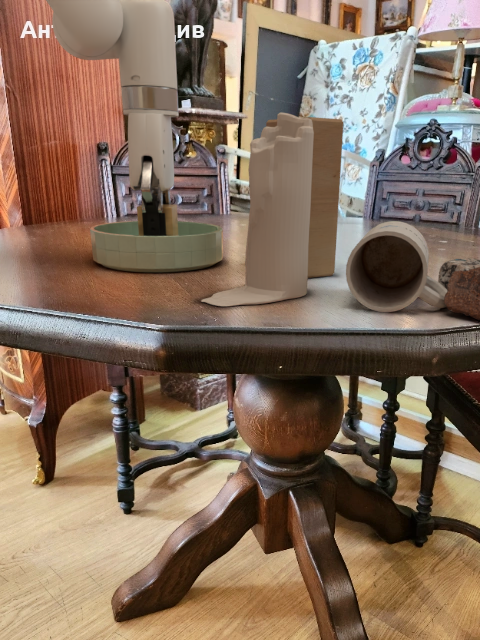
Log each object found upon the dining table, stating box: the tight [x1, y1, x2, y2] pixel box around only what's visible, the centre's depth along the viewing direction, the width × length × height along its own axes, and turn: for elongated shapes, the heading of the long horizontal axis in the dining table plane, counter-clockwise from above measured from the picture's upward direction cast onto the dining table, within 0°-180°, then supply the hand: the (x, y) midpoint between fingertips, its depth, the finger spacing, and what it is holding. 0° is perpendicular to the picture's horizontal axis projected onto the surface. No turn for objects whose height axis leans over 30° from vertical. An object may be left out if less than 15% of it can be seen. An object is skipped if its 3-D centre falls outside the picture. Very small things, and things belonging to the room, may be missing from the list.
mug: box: [345, 220, 447, 313], centre depth 64 cm, size 12×9×10 cm
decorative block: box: [265, 116, 344, 279], centre depth 78 cm, size 11×6×20 cm, turn 31°
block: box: [136, 204, 179, 236], centre depth 83 cm, size 5×5×5 cm
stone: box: [444, 267, 480, 321], centre depth 59 cm, size 7×7×3 cm
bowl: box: [89, 220, 224, 273], centre depth 84 cm, size 19×19×5 cm
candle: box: [200, 112, 314, 307], centre depth 62 cm, size 7×14×20 cm, turn 133°
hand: (158, 237), depth 84 cm, fingers closed on block, 5 cm apart
